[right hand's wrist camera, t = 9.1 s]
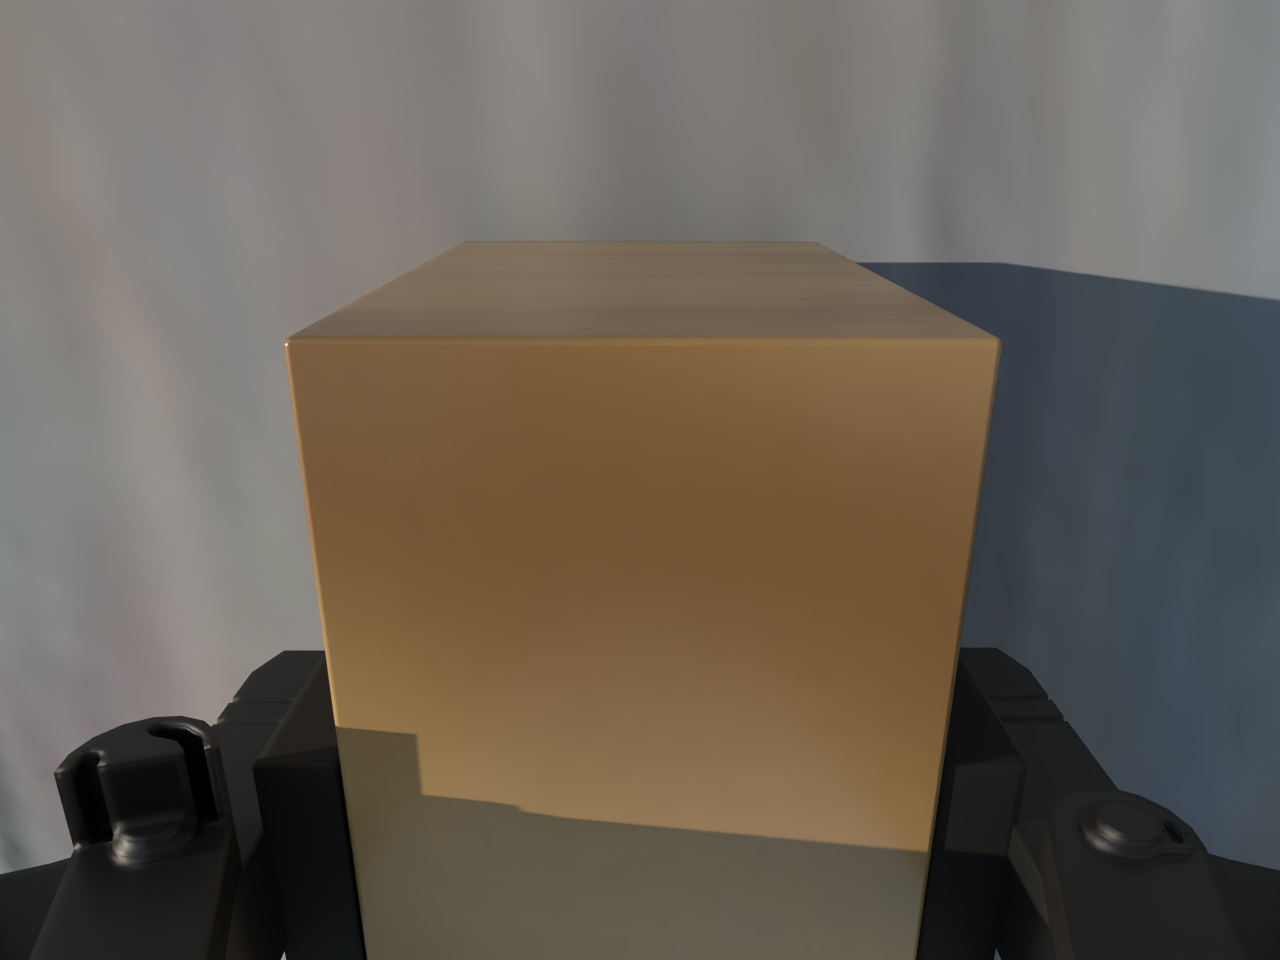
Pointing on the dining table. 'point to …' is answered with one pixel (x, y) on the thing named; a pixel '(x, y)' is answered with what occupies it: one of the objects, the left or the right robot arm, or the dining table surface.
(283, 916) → the right robot arm
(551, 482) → the bar
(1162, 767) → the dining table surface
